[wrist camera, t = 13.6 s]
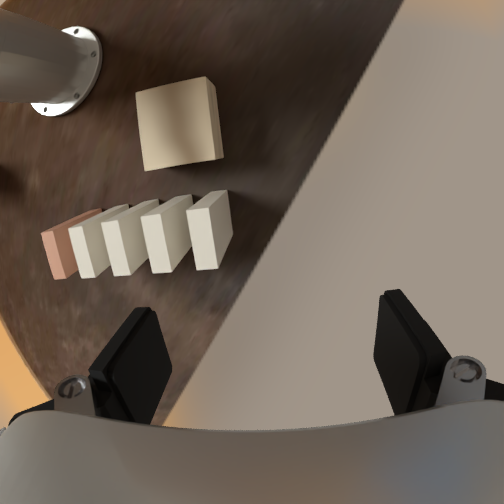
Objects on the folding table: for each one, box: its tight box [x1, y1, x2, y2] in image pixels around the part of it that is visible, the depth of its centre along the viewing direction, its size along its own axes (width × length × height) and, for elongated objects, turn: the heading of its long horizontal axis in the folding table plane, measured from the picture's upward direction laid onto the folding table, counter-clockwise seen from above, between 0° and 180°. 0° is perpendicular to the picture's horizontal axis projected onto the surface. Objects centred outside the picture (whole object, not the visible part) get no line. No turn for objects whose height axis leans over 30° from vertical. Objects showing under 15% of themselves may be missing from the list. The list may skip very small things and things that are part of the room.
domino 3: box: [101, 199, 160, 276], centre depth 29 cm, size 2×5×10 cm, turn 6°
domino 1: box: [41, 208, 102, 279], centre depth 30 cm, size 2×5×10 cm, turn 6°
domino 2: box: [68, 204, 129, 278], centre depth 30 cm, size 2×5×10 cm, turn 7°
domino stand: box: [136, 76, 224, 171], centre depth 28 cm, size 7×8×5 cm
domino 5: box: [186, 190, 233, 270], centre depth 28 cm, size 2×5×10 cm, turn 6°
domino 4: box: [141, 194, 193, 273], centre depth 29 cm, size 2×5×10 cm, turn 6°
